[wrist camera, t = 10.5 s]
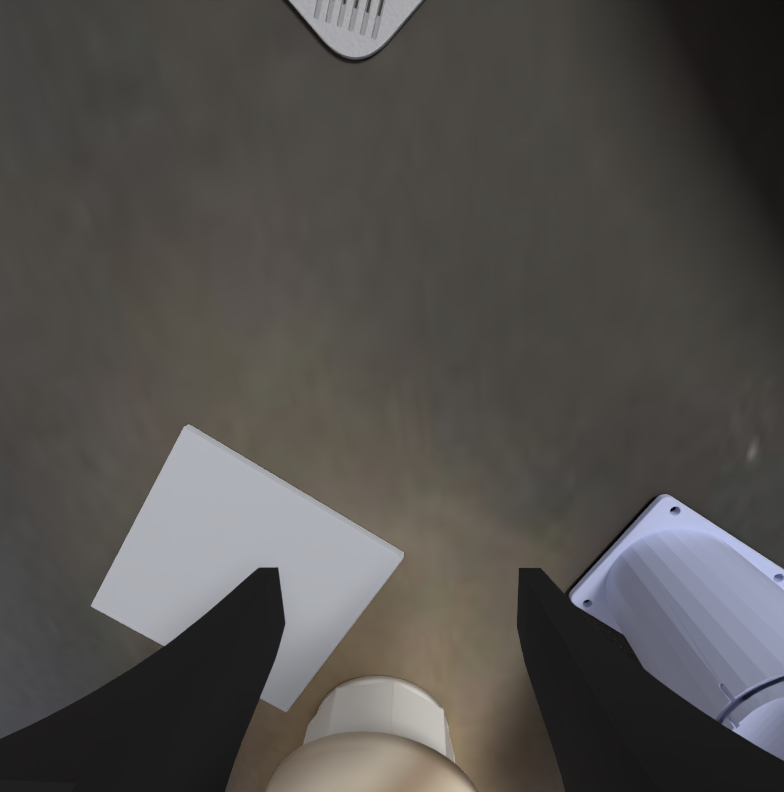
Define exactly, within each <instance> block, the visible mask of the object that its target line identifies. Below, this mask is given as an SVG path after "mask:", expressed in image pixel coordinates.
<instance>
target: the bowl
mask: <svg viewBox="0 0 784 792" xmlns="http://www.w3.org/2000/svg"><path fill="white" fill-rule="evenodd" d="M357 731H367V732H381V733H387V734H393V735H397V736H401V737H405V738H409V739H411V740H414V741H417V742H420V743H422V744H424V745H426V746H428V747H430V748H432V749H434V750H436V751H438V752H439V753H441V754H443V755H444V756H446V757H447V758H449V759H450V760H451V761H452V762H454V763H455V758H454V752H453V748H452V743H451V739H450V735H449V725H448V721H447V718H446V715H445V713H444V709H442V707H441V706H440V705H439V703H438V702H437V701H436V700H435V699H434V698H433V697H432V696H431V695H430V694H429V693H428V692H426V691H425V690H423V689H422V688H420V687H419V686H417V685H415V684H413V683H411V682H408V681H405V680H403V679H399V678H395V677H389V676H377V675H374V676H364V677H358V678H354V679H351V680H348V681H346V682H344V683H342V684H340V685H338V686H337V687H335V688H334V689H333V690H331V691H330V692H329V693H328V694H327V695H326V696H325V697H324V699H323V700H322V702H321V703H320V706H319V708H318V711H317V714H316V715H315V716H314V718H313V719H312V720H311V721H310V723H309V724H308V727H307V731H306V735H305V739H304V743H303V745H304V744H306V743H308V742H311V741H313V740H315V739H318V738H321V737H325V736H328V735H332V734H338V733H344V732H357Z"/></svg>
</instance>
